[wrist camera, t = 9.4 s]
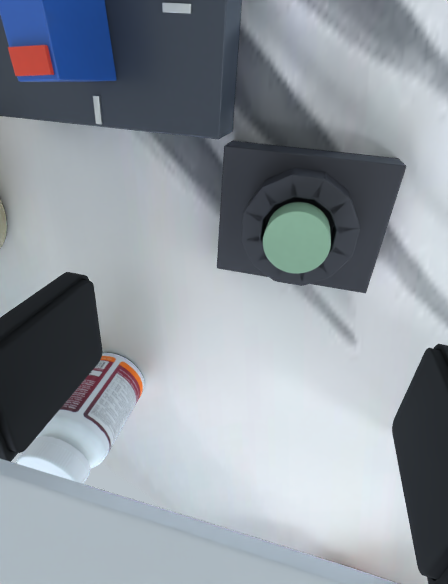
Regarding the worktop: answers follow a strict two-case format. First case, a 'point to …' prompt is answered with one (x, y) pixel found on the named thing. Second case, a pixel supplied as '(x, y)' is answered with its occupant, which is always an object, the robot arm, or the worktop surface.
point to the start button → (297, 238)
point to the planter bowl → (2, 224)
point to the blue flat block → (58, 40)
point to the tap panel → (146, 72)
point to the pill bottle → (87, 421)
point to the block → (314, 190)
